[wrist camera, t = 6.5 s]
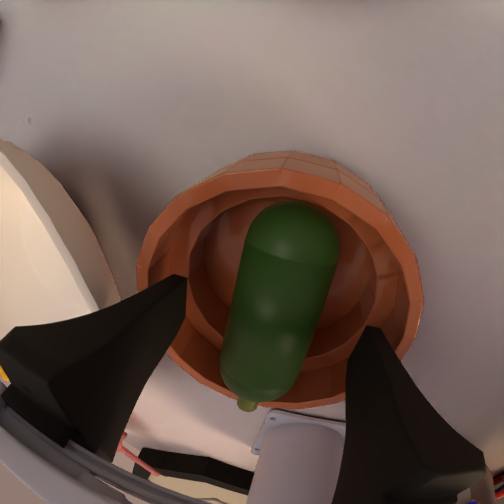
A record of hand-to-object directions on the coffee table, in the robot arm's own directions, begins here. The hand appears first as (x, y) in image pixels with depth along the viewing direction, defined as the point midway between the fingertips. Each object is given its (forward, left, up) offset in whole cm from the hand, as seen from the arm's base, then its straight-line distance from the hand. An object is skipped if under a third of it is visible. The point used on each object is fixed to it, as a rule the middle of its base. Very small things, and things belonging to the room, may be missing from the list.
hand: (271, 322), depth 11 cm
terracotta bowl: (0, 0, -5) cm, 5 cm away
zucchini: (0, 0, -2) cm, 3 cm away
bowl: (-3, +16, -5) cm, 17 cm away
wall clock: (-35, +12, -3) cm, 37 cm away
